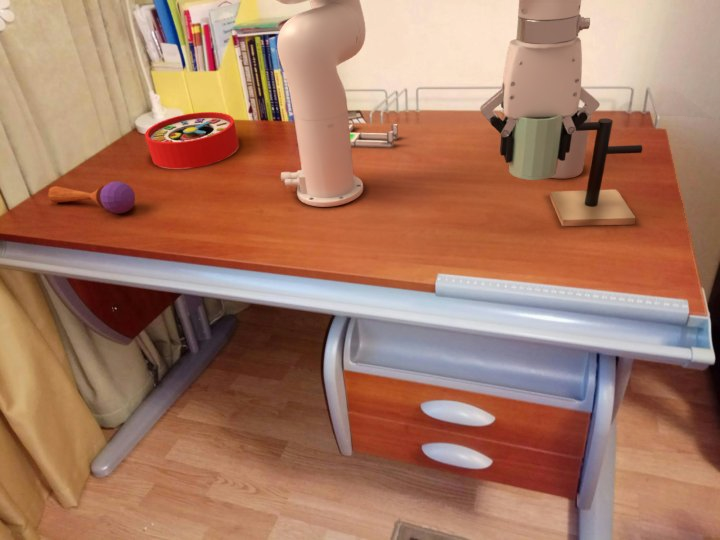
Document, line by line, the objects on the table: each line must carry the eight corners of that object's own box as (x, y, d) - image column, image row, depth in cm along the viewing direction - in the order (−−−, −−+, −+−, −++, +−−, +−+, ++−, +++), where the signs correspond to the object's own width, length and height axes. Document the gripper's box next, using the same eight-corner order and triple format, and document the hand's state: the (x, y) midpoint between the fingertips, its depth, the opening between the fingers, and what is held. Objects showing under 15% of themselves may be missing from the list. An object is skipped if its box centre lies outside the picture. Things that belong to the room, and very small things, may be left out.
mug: (579, 181, 100) (588, 122, 94) (531, 176, 103) (537, 119, 97) (588, 156, 109) (597, 101, 102) (543, 152, 112) (550, 98, 106)
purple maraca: (64, 176, 111) (137, 178, 103) (72, 204, 114) (145, 208, 106) (37, 183, 106) (113, 186, 98) (47, 213, 109) (121, 218, 101)
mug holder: (513, 227, 88) (522, 136, 80) (505, 199, 97) (512, 113, 88) (637, 224, 86) (659, 130, 78) (618, 195, 94) (636, 107, 86)
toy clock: (125, 136, 123) (191, 108, 136) (134, 160, 126) (197, 131, 140) (187, 148, 113) (251, 117, 127) (194, 174, 117) (256, 141, 130)
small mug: (560, 179, 79) (569, 118, 74) (511, 181, 80) (516, 121, 75) (545, 149, 89) (552, 93, 83) (502, 150, 89) (506, 95, 84)
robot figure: (403, 129, 129) (315, 127, 135) (402, 115, 127) (313, 114, 133) (386, 157, 116) (290, 154, 122) (385, 142, 114) (288, 140, 120)
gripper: (608, 19, 73) (588, 146, 83) (476, 28, 76) (471, 150, 85) (625, 31, 67) (601, 166, 77) (481, 41, 69) (476, 171, 79)
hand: (533, 157), depth 81 cm, fingers closed on small mug, 7 cm apart
